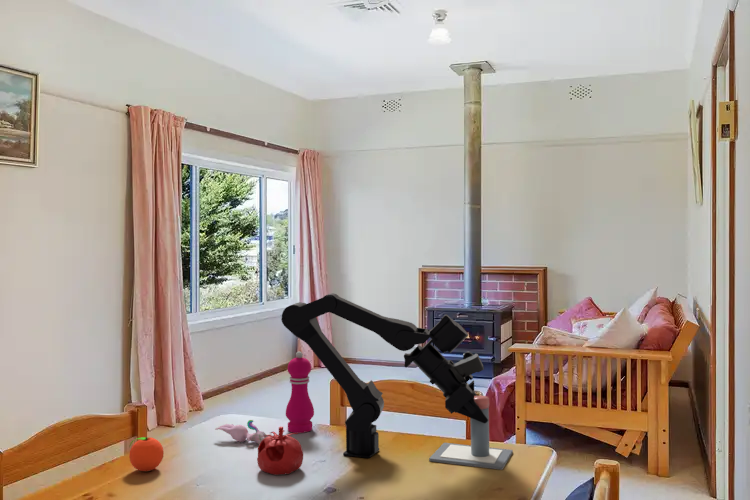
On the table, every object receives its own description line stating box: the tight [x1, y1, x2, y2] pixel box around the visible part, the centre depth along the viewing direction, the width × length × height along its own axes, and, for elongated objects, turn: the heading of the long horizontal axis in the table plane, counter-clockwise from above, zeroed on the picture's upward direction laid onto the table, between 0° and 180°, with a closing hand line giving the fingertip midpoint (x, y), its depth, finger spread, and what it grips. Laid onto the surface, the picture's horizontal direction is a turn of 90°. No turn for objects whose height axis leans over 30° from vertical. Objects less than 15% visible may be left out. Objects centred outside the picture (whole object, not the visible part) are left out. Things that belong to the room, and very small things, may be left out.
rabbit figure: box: [214, 419, 272, 445], centre depth 163 cm, size 6×6×15 cm
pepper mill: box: [285, 351, 315, 434], centre depth 173 cm, size 7×7×20 cm
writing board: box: [428, 442, 513, 471], centre depth 151 cm, size 16×12×1 cm
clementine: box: [129, 436, 164, 472], centre depth 144 cm, size 8×7×7 cm
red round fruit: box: [256, 426, 304, 476], centre depth 143 cm, size 10×10×9 cm
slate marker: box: [469, 395, 490, 457], centre depth 150 cm, size 4×4×12 cm
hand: (486, 418), depth 150 cm, fingers open, 6 cm apart
